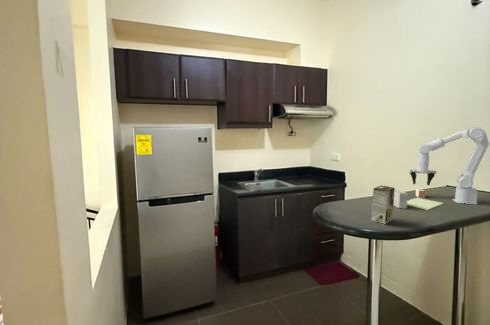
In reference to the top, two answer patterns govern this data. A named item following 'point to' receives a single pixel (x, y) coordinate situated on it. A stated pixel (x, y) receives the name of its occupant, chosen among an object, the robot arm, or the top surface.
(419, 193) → the card deck
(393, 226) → the top surface
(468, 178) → the robot arm
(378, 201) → the coffee box
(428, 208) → the sage mat
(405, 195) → the medicine box
